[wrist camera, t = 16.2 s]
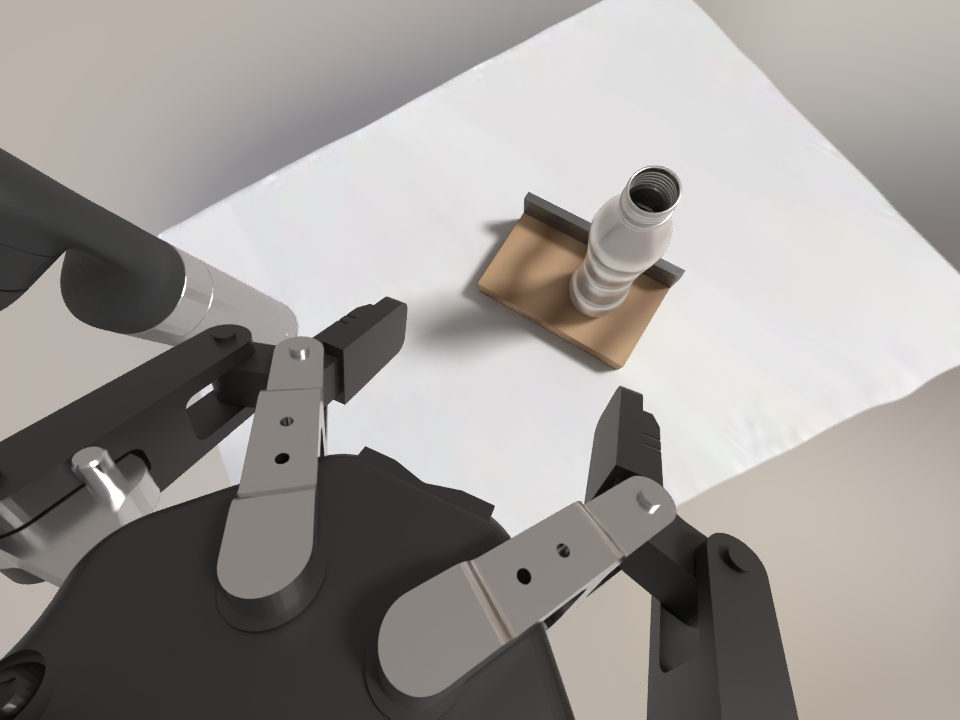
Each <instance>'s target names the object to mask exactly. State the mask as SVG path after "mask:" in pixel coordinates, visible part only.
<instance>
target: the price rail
mask: <svg viewBox="0 0 960 720" xmlns="http://www.w3.org/2000/svg"><path fill="white" fill-rule="evenodd" d="M524 213H525V214H527V215H529V216H531V217H533V218H535V219H537V220H539V221H541V222H543V223H545V224H547V225H549V226H550V227H552V228H554V229H556V230H558V231H560V232H562V233H564V234H566V235H568V236H570V237H572V238H574V239H576V240H578V241H580V242H581V243H583V244H585V245H587V246H588V240H589V232H590V227H591V224H592V223H590V222H588V221H586V220H584V219H582V218H580V217H578V216H576V215H574V214H572V213H570V212H568V211H566V210H564V209H562V208H560V207H558V206H556V205H554V204H552V203H550V202H548V201H546V200H544V199H542V198H540V197H538V196H536V195H534V194H532V193H530V192H528V194H527V195H526V197H525V198H524ZM684 272H685V270H683V269H681V268H679V267H677V266H675V265H673V264H671V263H669V262H667V261H665V260H663V259H661V258H660V259H659V260H658V261H657V262H656V263H654V264H653V265H652V266H651V267H649V268H648V269H647V270H645V271H644V272H643V273H642V274H643V275H645V276H647V277H649V278H651V279H653V280H655V281H657V282H659V283H661V284H663V285H665V286H667V287H669V288H670V287H672V286H673V285H674V284H675V283H676V282H677V281H678V280H679V279H680V278H681V277H682V275H683V273H684Z"/></svg>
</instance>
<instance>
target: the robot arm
mask: <svg viewBox="0 0 960 720" xmlns="http://www.w3.org/2000/svg"><path fill="white" fill-rule="evenodd" d="M65 251H66V254H65V258H64V262H63V266H62V270H61V279H60V284H61V293H62V296H63V299H64V302H65V304H66V306H67V308H68V309H69V310H70V312H71V313H72V314H73V315H74V316H75V317H76V318H77V319H79V320H80V321H82V322H84V323H86V324H88V325H90V326H93V327H96V328H99V329H104V330H107V331H112V332H116V333H121V334H125V335H129V336H133V337H137V338H142V339H146V340H150V341H155V342H159V343H164V344H168V345H172V346H175V347H173V348H171V349H169V350H168V351H166V352H164V353H162V354H160V355H159V356H157V357H155V358H153V359H151V360H149V361H147V362H146V363H144V364H142V365H140V366H138V367H136V368H135V369H133V370H131V371H129V372H127V373H126V374H124V375H122V376H120V377H118V378H116V379H114V380H113V381H111V382H109V383H107V384H105V385H103V386H102V387H100V388H98V389H96V390H94V391H92V392H91V393H89V394H87V395H85V396H83V397H81V398H80V399H78V400H76V401H74V402H72V403H70V404H69V405H67V406H65V407H63V408H61V409H59V410H58V411H56V412H54V413H52V414H50V415H48V416H47V417H45V418H43V419H41V420H39V421H37V422H36V423H34V424H32V425H30V426H28V427H27V428H25V429H23V430H21V431H19V432H17V433H16V434H14V435H12V436H10V437H8V438H7V439H4V440H3V441H1V442H0V572H1V573H3V574H4V575H5V576H7V577H8V578H10V579H11V580H12V581H14V582H16V583H19V584H36V583H41V582H44V581H47V582H49V583H51V584H54V585H56V586H58V587H59V588H60V589H59V590H58V592H57V594H56V595H55V597H54V598H53V600H52V601H51V602H50V604H49V605H48V607H47V608H46V610H45V611H44V612H43V614H42V615H41V616H40V617H39V619H38V620H37V621H36V622H35V623H34V625H33V626H32V627H31V628H30V630H29V631H28V632H27V633H26V634H25V635H24V636H23V638H22V639H21V640H20V641H19V642H18V643H17V644H16V645H15V646H14V647H13V648H12V649H11V650H10V651H9V652H8V653H7V654H6V655H5V656H4V657H3V658H2V659H1V660H0V720H575V717H574V715H573V711H572V709H571V706H570V703H569V700H568V697H567V694H566V691H565V688H564V685H563V682H562V679H561V676H560V673H559V670H558V667H557V664H556V661H555V658H554V655H553V652H552V649H551V646H550V643H549V640H548V637H547V634H546V633H547V632H548V631H549V630H551V629H552V628H553V627H554V626H556V625H557V624H558V623H559V622H560V621H562V620H563V619H564V618H565V617H566V616H568V615H569V614H570V613H571V612H572V611H573V610H574V609H575V608H576V607H578V606H579V605H580V604H581V603H582V602H584V601H585V600H586V599H587V598H589V597H590V596H591V595H592V594H594V593H595V592H596V591H597V590H599V589H600V588H601V587H603V586H604V585H605V584H606V583H608V582H609V581H610V580H611V579H613V578H614V577H615V576H616V575H618V574H619V573H620V572H621V571H624V572H625V573H626V574H627V575H628V576H630V577H631V578H632V579H633V580H634V581H636V582H637V583H638V584H639V585H640V586H642V587H643V588H644V589H645V590H646V591H648V592H649V593H650V594H651V595H652V599H651V626H650V650H649V652H650V653H649V676H648V701H647V702H648V703H647V720H798V715H797V710H796V705H795V701H794V696H793V691H792V687H791V682H790V678H789V673H788V668H787V664H786V659H785V654H784V650H783V645H782V640H781V636H780V631H779V627H778V622H777V617H776V612H775V608H774V603H773V599H772V594H771V589H770V584H769V580H768V576H767V572H766V570H765V568H764V566H763V564H762V562H761V561H760V559H759V558H758V556H757V555H756V554H755V553H754V552H753V551H752V550H751V549H750V548H749V547H748V546H747V545H746V544H744V543H743V542H741V541H740V540H739V539H737V538H735V537H733V536H731V535H729V534H725V533H715V534H712V535H711V536H710V537H709V538H707V537H706V536H705V535H703V534H702V533H700V532H699V531H697V530H696V529H695V528H693V527H692V526H691V525H689V524H688V523H687V522H685V521H684V520H683V519H682V518H680V517H679V516H678V515H677V514H676V506H675V503H674V501H673V499H672V497H671V496H670V494H669V493H668V492H667V491H666V490H665V489H664V488H663V477H662V459H661V452H660V450H661V442H660V427H659V425H658V423H657V421H656V420H655V418H654V416H653V414H651V413H648V412H646V411H643V395H642V394H640V393H638V392H635V391H633V390H630V389H627V388H625V387H622V386H619V387H618V388H617V390H616V391H615V393H614V395H613V397H612V398H611V400H610V402H609V403H608V405H607V407H606V409H605V410H604V412H603V414H602V415H601V417H600V419H599V421H598V424H597V427H596V430H595V434H594V441H593V448H592V454H591V461H590V468H589V475H588V482H587V488H586V495H585V502H584V505H583V504H582V503H581V501H577V502H574V503H572V504H571V505H569V506H567V507H565V508H564V509H562V510H560V511H558V512H557V513H555V514H553V515H551V516H550V517H548V518H546V519H544V520H543V521H541V522H539V523H537V524H536V525H534V526H532V527H530V528H529V529H527V530H525V531H523V532H522V533H520V534H518V535H516V536H515V537H513V538H511V537H510V536H509V534H508V533H507V532H506V530H505V529H504V528H503V527H502V526H501V525H500V524H499V523H498V522H497V521H496V520H495V519H493V518H492V517H491V515H492V512H493V510H494V507H495V506H494V505H492V504H490V503H488V502H485V501H483V500H481V499H479V498H477V497H475V496H472V495H470V494H468V493H466V492H464V491H461V490H456V489H451V488H447V487H442V486H437V485H432V484H427V483H424V482H422V481H421V480H419V479H418V478H417V477H416V476H415V475H413V474H412V473H411V472H410V471H408V470H407V469H406V468H405V467H403V466H402V465H401V464H400V463H399V462H397V461H396V460H394V459H392V458H390V457H388V456H385V455H383V454H381V453H379V452H377V451H375V450H372V449H370V448H368V447H366V446H365V447H364V449H363V450H362V451H361V452H360V453H359V455H352V454H335V455H327V437H328V404H329V403H330V402H331V401H332V400H335V401H338V402H340V403H342V404H344V405H345V404H346V403H347V402H348V401H349V400H350V399H351V398H352V397H353V396H354V395H356V394H357V393H358V392H359V391H360V390H361V389H362V388H363V387H364V386H365V385H366V384H367V383H368V382H369V381H370V380H371V379H372V378H373V377H374V376H375V375H376V374H377V373H378V372H379V371H380V370H381V369H382V368H383V367H384V366H385V365H386V364H387V363H388V362H389V361H390V360H391V359H392V358H393V357H394V356H395V355H396V354H397V353H398V352H399V351H400V349H401V347H402V345H403V343H404V339H405V329H406V319H407V305H406V303H403V302H401V301H398V300H395V299H393V298H390V297H385V298H383V299H382V300H380V301H379V302H378V303H376V304H375V305H372V304H368V305H365V306H361V307H358V308H356V309H354V310H353V311H351V312H350V313H348V314H347V316H346V315H345V316H344V317H342V318H341V319H340V320H339V321H337V322H335V323H334V324H332V325H331V326H329V327H328V328H326V329H325V330H323V331H322V332H320V333H319V334H317V335H316V336H314V337H313V338H310V337H296V336H297V322H296V318H295V316H294V314H293V312H292V311H291V310H290V309H289V308H288V307H287V306H286V305H284V304H283V303H281V302H279V301H277V300H275V299H273V298H271V297H270V296H268V295H266V294H264V293H262V292H260V291H258V290H256V289H255V288H253V287H251V286H249V285H247V284H245V283H243V282H241V281H239V280H237V279H236V278H234V277H232V276H230V275H228V274H226V273H224V272H222V271H220V270H218V269H216V268H215V267H213V266H211V265H209V264H207V263H205V262H203V261H201V260H199V259H197V258H195V257H193V256H191V255H189V254H188V253H186V252H184V251H182V250H180V249H178V248H176V247H174V246H172V245H170V244H169V243H167V242H165V241H163V240H161V239H159V238H157V237H155V236H153V235H152V234H150V233H148V232H146V231H144V230H142V229H141V228H139V227H137V226H136V225H134V224H132V223H130V222H129V221H127V220H125V219H123V218H121V217H119V216H117V215H116V214H114V213H112V212H110V211H108V210H106V209H104V208H103V207H101V206H99V205H97V204H95V203H93V202H91V201H90V200H88V199H86V198H84V197H82V196H81V195H79V194H78V193H76V192H74V191H72V190H71V189H69V188H67V187H65V186H64V185H62V184H60V183H58V182H57V181H55V180H53V179H52V178H50V177H49V176H47V175H45V174H43V173H42V172H40V171H38V170H37V169H35V168H33V167H32V166H30V165H28V164H27V163H25V162H23V161H21V160H20V159H18V158H16V157H15V156H13V155H11V154H10V153H8V152H6V151H4V150H3V149H1V148H0V311H1V310H3V309H5V308H6V307H8V306H9V305H11V304H12V303H13V302H15V301H16V300H17V299H18V298H19V297H21V296H22V295H23V294H24V293H25V292H26V291H27V290H28V289H29V287H31V286H32V285H33V284H34V283H35V281H37V279H38V278H39V277H40V276H41V275H42V274H43V273H44V272H45V271H46V270H47V269H48V268H49V267H50V266H51V265H52V264H53V263H54V262H55V261H56V260H57V259H58V258H59V257H60V256H61V255H62V254H63V253H64V252H65ZM211 383H212V385H213V388H214V390H213V391H211V392H210V393H208V394H207V395H206V396H204V397H203V398H201V399H200V400H198V401H197V402H196V403H194V404H193V405H191V406H190V407H189V408H187V409H186V405H187V403H188V401H189V400H190V398H191V397H192V396H193V395H195V394H196V393H198V392H199V391H200V390H202V389H203V388H205V387H206V386H208V385H209V384H211ZM254 413H255V415H254V419H253V424H252V429H251V433H250V438H249V443H248V448H247V452H246V457H245V462H244V466H243V471H242V476H241V481H240V484H237V485H234V486H231V487H228V488H225V489H222V490H219V491H216V492H214V493H211V494H207V495H204V496H202V497H198V498H196V499H193V500H190V501H186V502H184V503H181V504H178V505H174V506H171V507H169V508H166V509H162V510H160V511H157V512H154V513H151V512H152V511H153V510H154V508H155V507H156V505H157V503H158V501H159V498H160V493H161V492H162V491H163V490H164V489H166V488H167V487H168V486H169V485H170V484H171V483H173V482H174V481H175V480H176V479H177V478H178V477H180V476H181V475H182V474H183V473H184V472H185V471H187V470H188V469H189V468H190V467H191V466H192V465H194V464H195V463H196V462H197V461H198V460H200V459H201V458H202V457H203V456H204V455H205V454H206V453H208V452H209V451H210V450H211V449H213V448H214V447H215V446H216V445H217V444H218V443H220V442H221V441H222V440H223V439H224V438H225V437H227V436H228V435H229V434H230V433H231V432H232V431H234V430H235V429H236V428H237V427H238V426H240V425H241V424H242V423H243V422H244V421H245V420H247V419H248V418H249V417H250V416H251V415H252V414H254ZM150 513H151V514H150Z"/></svg>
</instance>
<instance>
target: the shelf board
mask: <svg viewBox="0 0 960 720" xmlns="http://www.w3.org/2000/svg"><path fill="white" fill-rule="evenodd" d="M587 250H588V246H587V245H585V244H583V243H581V242H580V241H578V240H576V239H574V238H572V237H570V236H568V235H566V234H564V233H562V232H560V231H558V230H556V229H554V228H552V227H550V226H549V225H547V224H545V223H543V222H541V221H539V220H537V219H535V218H533V217H531V216H529V215H527V214H525V213H523V215H522V216H521V218H520V219H519V221H518V222H517V224H516V226H515V227H514V229H513V230H512V232H511V233H510V235H509V236H508V238H507V239H506V241H505V242H504V244H503V245H502V247H501V248H500V250H499V251H498V253H497V254H496V256H495V257H494V259H493V261H492V262H491V264H490V265H489V267H488V268H487V270H486V271H485V273H484V274H483V276H482V277H481V279H480V280H479V282H478V287H479V290H480V291H481V292H483V293H485V294H486V295H488V296H490V297H492V298H493V299H495V300H497V301H499V302H500V303H502V304H504V305H505V306H507V307H509V308H511V309H512V310H514V311H516V312H518V313H519V314H521V315H523V316H525V317H526V318H528V319H530V320H532V321H533V322H535V323H537V324H539V325H540V326H542V327H544V328H546V329H547V330H549V331H551V332H552V333H554V334H556V335H558V336H559V337H561V338H563V339H565V340H566V341H568V342H570V343H572V344H573V345H575V346H577V347H579V348H580V349H582V350H584V351H586V352H587V353H589V354H591V355H592V356H594V357H596V358H598V359H599V360H601V361H603V362H605V363H606V364H608V365H610V366H612V367H613V368H615V369H617V370H618V369H620V368H622V367H623V366H624V364H625V363H626V361H627V359H628V358H629V356H630V354H631V353H632V351H633V349H634V348H635V346H636V344H637V342H638V341H639V339H640V337H641V336H642V334H643V332H644V331H645V329H646V327H647V326H648V324H649V322H650V321H651V319H652V317H653V316H654V314H655V312H656V310H657V309H658V307H659V305H660V304H661V302H662V300H663V299H664V297H665V295H666V294H667V292H668V290H669V289H670V288H669V287H667V286H665V285H663V284H661V283H659V282H657V281H655V280H653V279H651V278H649V277H647V276H645V275H643V274H642V273H641V274H640V275H639V276H638V277H637V278H636V279H635V280H634V281H633V282H632V284H631V286H630V289H629V292H628V295H627V297H626V299H625V301H624V303H623V304H622V305H621V306H620V307H619V308H618V309H617V310H616V311H614V312H612V313H610V314H608V315H606V316H603V317H590V316H586V315H584V314H582V313H581V312H579V311H578V310H577V309H576V308H575V307H574V305H573V303H572V301H571V298H570V292H569V285H570V280H571V277H572V275H573V273H574V272H575V271H576V269H577V268H578V267H579V265H580V264H581V263H582V262H583V260H584V259H585V257H586V253H587Z"/></svg>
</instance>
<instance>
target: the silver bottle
mask: <svg viewBox="0 0 960 720" xmlns="http://www.w3.org/2000/svg"><path fill="white" fill-rule="evenodd" d="M681 194H682V186H681V182H680V180H679V178H678V177H677V175H676V174H675V173H674V172H672V171H671V170H669V169H668V168H665V167H662V166H648V167H644V168H642V169H640V170H638V171H637V172H636V173H635V174H633V176H632V177H631V178H630V180H629V181H628V183H627V185H626V187H625V188H624V190H623V191H622V193H621V194H619V195H617V196H615V197H613V198H611V199H610V200H609V201H608V202H606V203H605V204H604V205H603V206H602V207H601V208H600V209H599V210H598V212H597V213H596V214H595V216H594V218H593V220H592V224H591V227H590V232H589V240H588V250H587V253H586V257H585V259H584V260H583V262H582V263H581V264H580V265H579V267H578V268H577V269H576V271H575V272H574V273H573V275H572V277H571V280H570V285H569V292H570V298H571V301H572V303H573V305H574V307H575V308H576V309H577V310H578V311H579V312H581V313H582V314H584V315H586V316H590V317H603V316H606V315H608V314H610V313H612V312H614V311H616V310H617V309H618V308H619V307H620V306H621V305H622V304H623V303H624V301H625V299H626V297H627V295H628V292H629V289H630V286H631V284H632V282H633V281H634V280H635V279H636V278H637V277H638V276H639V275H640V274H641V273H643V272H644V271H645V270H647V269H648V268H649V267H651V266H652V265H653V264H654V263H656V262H657V261H658V260H659V259H660V258H661V257H662V256H663V254H664V253H665V252H666V250H667V248H668V246H669V244H670V239H671V235H672V229H673V223H672V218H671V215H672V213H673V211H674V208H675V207H676V205H677V204H678V202H679V200H680V198H681Z"/></svg>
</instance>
